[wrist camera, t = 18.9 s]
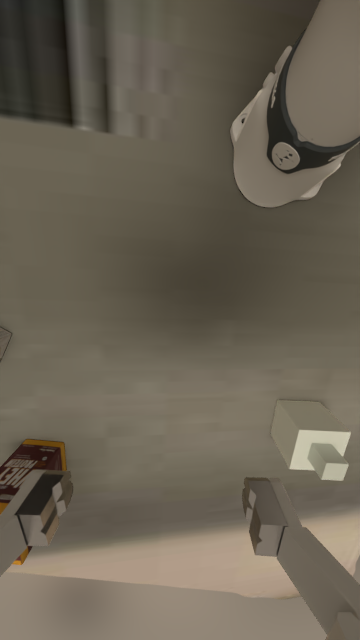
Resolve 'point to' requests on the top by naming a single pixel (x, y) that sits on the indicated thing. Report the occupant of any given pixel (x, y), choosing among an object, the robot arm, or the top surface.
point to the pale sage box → (310, 438)
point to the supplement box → (28, 471)
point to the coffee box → (4, 341)
